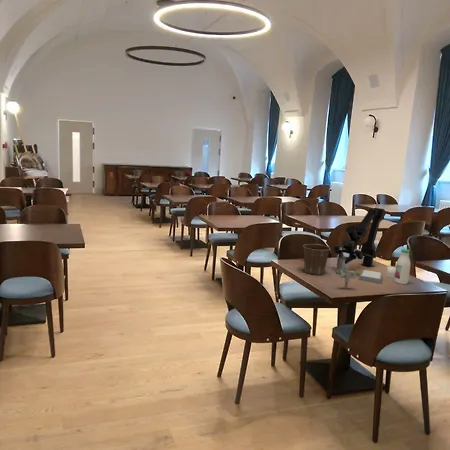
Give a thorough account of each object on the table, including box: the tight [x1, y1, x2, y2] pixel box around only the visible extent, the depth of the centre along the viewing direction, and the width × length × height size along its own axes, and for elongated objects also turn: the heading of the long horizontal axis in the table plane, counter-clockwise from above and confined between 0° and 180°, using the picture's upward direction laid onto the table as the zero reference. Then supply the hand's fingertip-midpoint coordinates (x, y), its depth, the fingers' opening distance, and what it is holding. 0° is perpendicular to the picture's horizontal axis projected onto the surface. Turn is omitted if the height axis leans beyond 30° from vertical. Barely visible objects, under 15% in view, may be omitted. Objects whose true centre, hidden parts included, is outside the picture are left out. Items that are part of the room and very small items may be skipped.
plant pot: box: [302, 243, 331, 276], centre depth 268 cm, size 16×16×16 cm
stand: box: [358, 269, 384, 285], centre depth 264 cm, size 16×12×3 cm
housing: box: [335, 255, 350, 274], centre depth 270 cm, size 6×4×10 cm
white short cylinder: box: [385, 265, 396, 279], centre depth 271 cm, size 6×6×6 cm
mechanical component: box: [337, 269, 358, 290], centre depth 240 cm, size 3×10×10 cm, turn 95°
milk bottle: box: [393, 248, 411, 285], centre depth 259 cm, size 8×8×20 cm
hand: (341, 262), depth 269 cm, fingers closed on housing, 4 cm apart
